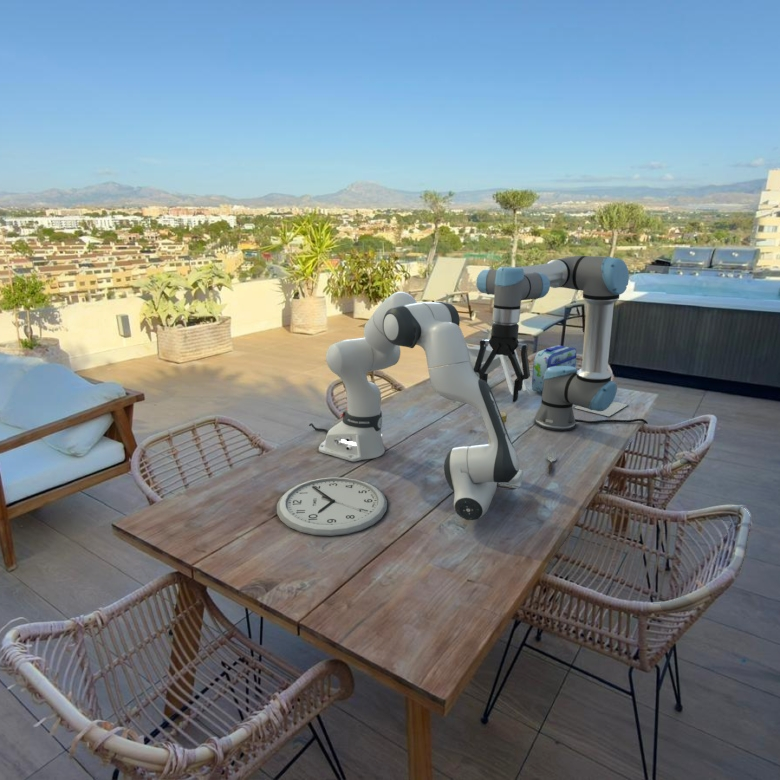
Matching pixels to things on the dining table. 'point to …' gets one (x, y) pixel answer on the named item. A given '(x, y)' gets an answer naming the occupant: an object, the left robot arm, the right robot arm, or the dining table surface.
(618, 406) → the invitation card
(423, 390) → the dining table surface
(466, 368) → the left robot arm
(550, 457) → the fork
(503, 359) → the white plastic object
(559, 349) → the lunch box
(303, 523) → the wall clock
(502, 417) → the lid
